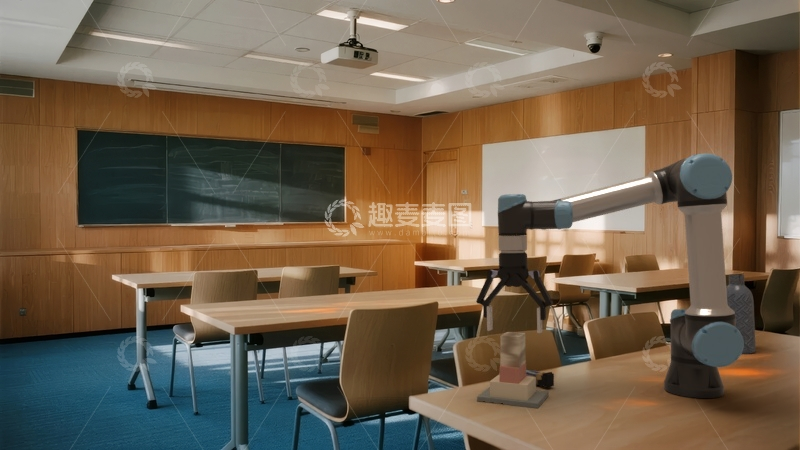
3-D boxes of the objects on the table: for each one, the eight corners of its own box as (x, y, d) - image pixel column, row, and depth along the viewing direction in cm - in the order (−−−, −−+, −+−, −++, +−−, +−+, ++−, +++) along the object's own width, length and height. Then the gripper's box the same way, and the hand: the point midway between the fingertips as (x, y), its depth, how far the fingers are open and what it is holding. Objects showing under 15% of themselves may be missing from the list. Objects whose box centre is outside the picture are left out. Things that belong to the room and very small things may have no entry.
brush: (518, 363, 194) (557, 372, 181) (518, 378, 194) (557, 387, 181) (505, 365, 190) (544, 374, 178) (505, 380, 190) (544, 391, 178)
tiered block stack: (548, 396, 172) (548, 362, 172) (537, 408, 160) (537, 372, 160) (491, 389, 179) (491, 357, 179) (477, 401, 167) (477, 366, 167)
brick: (525, 362, 172) (525, 333, 172) (519, 367, 165) (519, 337, 165) (507, 360, 174) (507, 331, 174) (500, 365, 168) (500, 335, 168)
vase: (762, 354, 229) (762, 276, 229) (728, 354, 229) (728, 276, 229) (744, 348, 241) (744, 273, 241) (712, 347, 241) (712, 273, 241)
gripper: (562, 251, 168) (564, 331, 168) (472, 251, 178) (474, 326, 178) (557, 252, 161) (559, 335, 161) (464, 252, 172) (465, 331, 171)
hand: (514, 331), depth 170 cm, fingers open, 13 cm apart
